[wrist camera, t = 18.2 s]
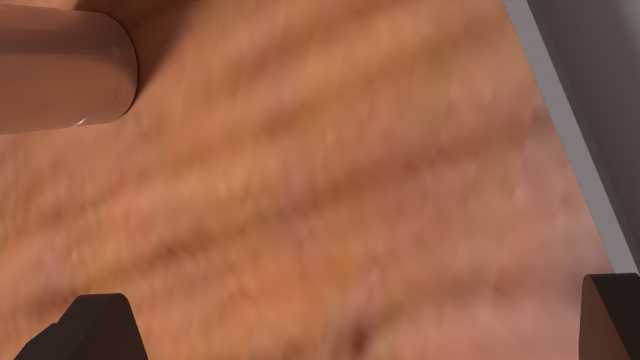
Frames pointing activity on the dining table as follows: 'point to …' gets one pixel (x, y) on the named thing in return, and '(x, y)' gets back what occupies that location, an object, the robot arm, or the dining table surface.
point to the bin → (592, 104)
